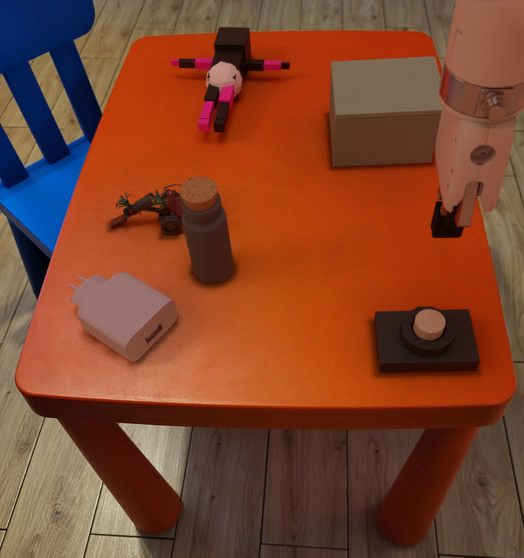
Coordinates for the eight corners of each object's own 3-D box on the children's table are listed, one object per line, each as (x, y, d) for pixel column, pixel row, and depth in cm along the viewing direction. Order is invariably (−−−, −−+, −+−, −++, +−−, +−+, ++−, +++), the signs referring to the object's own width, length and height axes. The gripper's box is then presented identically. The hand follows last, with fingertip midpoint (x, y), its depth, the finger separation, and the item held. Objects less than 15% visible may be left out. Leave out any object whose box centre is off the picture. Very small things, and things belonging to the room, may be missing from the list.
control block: (465, 318, 80) (472, 300, 77) (476, 370, 76) (483, 353, 73) (373, 321, 81) (376, 302, 78) (379, 372, 77) (382, 355, 73)
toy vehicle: (209, 218, 90) (179, 185, 84) (128, 257, 95) (95, 228, 89) (208, 187, 93) (179, 153, 88) (130, 226, 99) (98, 196, 93)
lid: (434, 60, 97) (434, 55, 96) (447, 114, 90) (448, 109, 89) (330, 66, 98) (331, 61, 97) (335, 119, 91) (335, 114, 90)
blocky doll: (294, 59, 115) (293, 25, 109) (277, 146, 102) (275, 113, 96) (181, 56, 118) (175, 23, 112) (151, 141, 104) (142, 108, 99)
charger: (103, 271, 89) (179, 318, 83) (56, 313, 85) (133, 365, 79) (93, 249, 85) (173, 297, 79) (44, 291, 81) (124, 345, 76)
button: (440, 316, 76) (443, 308, 75) (444, 340, 74) (447, 332, 73) (411, 317, 77) (413, 309, 75) (415, 341, 75) (417, 333, 73)
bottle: (233, 284, 86) (220, 205, 73) (191, 284, 86) (172, 206, 74) (234, 252, 89) (223, 172, 77) (195, 253, 90) (177, 173, 77)
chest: (420, 109, 104) (428, 61, 97) (431, 162, 97) (441, 115, 90) (329, 113, 105) (330, 66, 98) (333, 166, 98) (335, 119, 91)
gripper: (548, 137, 48) (490, 285, 63) (514, 32, 56) (470, 185, 71) (451, 139, 48) (417, 285, 64) (431, 35, 57) (405, 186, 72)
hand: (445, 232), depth 68 cm, fingers closed
